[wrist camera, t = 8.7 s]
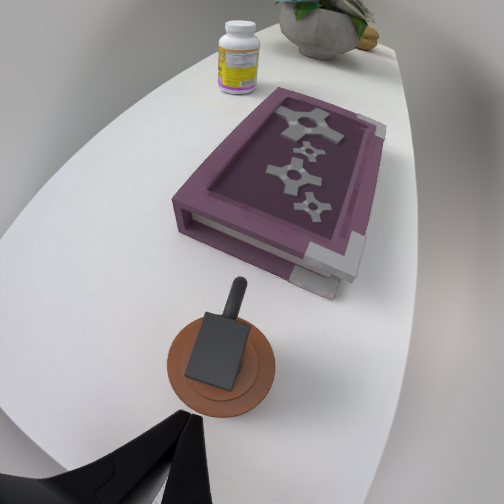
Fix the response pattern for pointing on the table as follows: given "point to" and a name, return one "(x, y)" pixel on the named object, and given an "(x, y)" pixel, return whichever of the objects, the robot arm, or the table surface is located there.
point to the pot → (369, 39)
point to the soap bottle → (246, 384)
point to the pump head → (220, 343)
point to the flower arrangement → (324, 25)
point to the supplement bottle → (238, 58)
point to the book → (289, 191)
